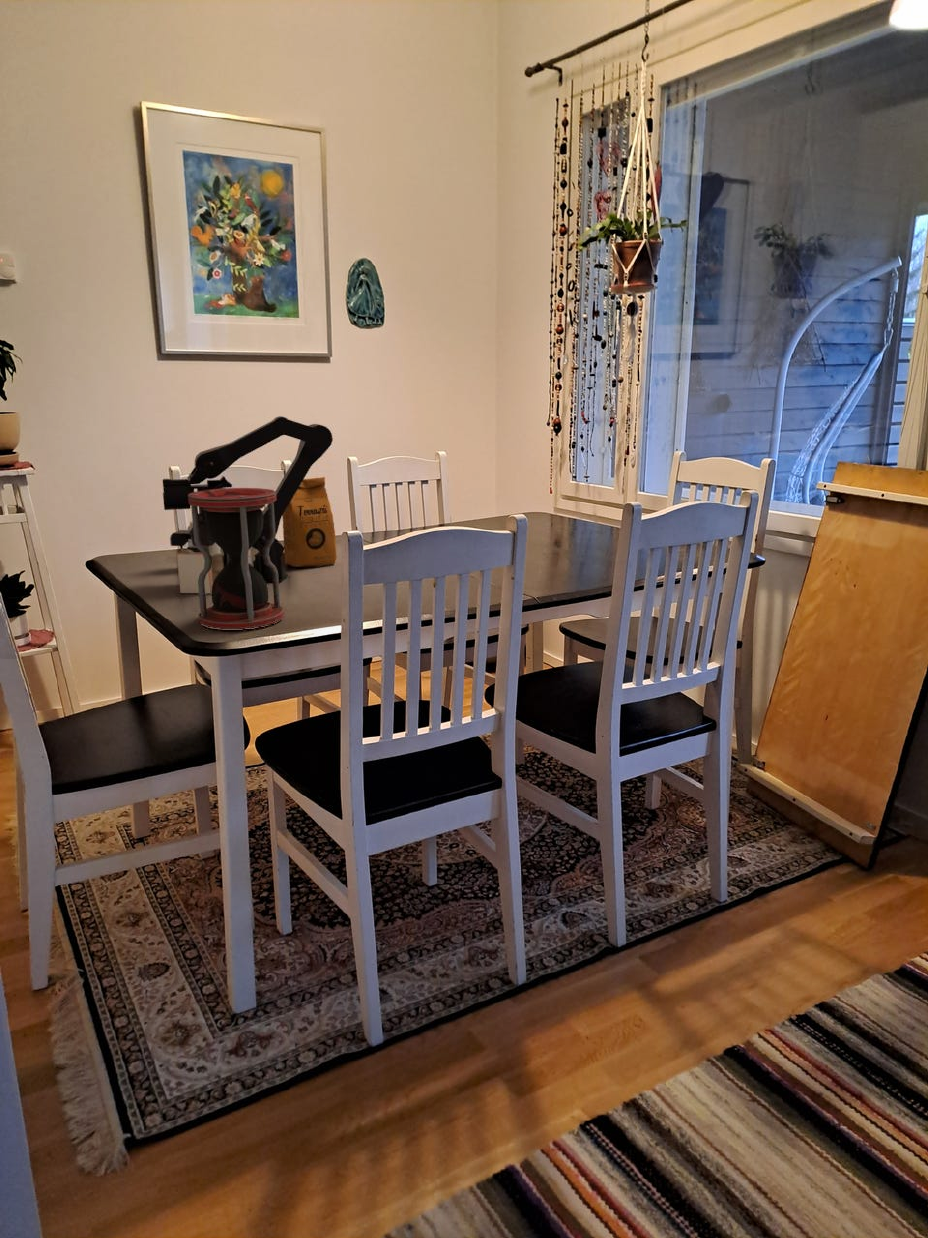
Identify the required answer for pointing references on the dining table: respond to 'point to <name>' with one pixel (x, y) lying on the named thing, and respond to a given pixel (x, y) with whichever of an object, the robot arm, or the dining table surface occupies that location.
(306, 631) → the dining table surface
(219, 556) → the pusher
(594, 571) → the dining table surface
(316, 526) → the coffee package
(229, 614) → the hourglass
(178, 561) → the tile
